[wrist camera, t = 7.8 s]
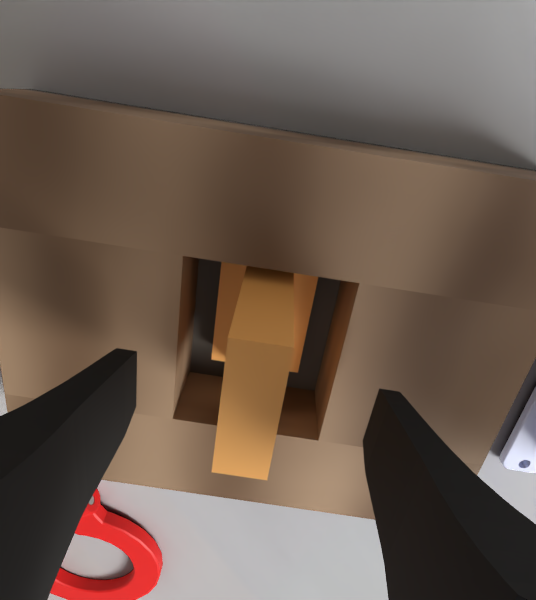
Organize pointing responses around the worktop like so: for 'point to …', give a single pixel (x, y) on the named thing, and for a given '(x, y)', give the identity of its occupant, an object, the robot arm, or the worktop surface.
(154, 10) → the worktop surface
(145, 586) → the tow hook
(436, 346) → the well board
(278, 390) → the orange t-shaped beam
